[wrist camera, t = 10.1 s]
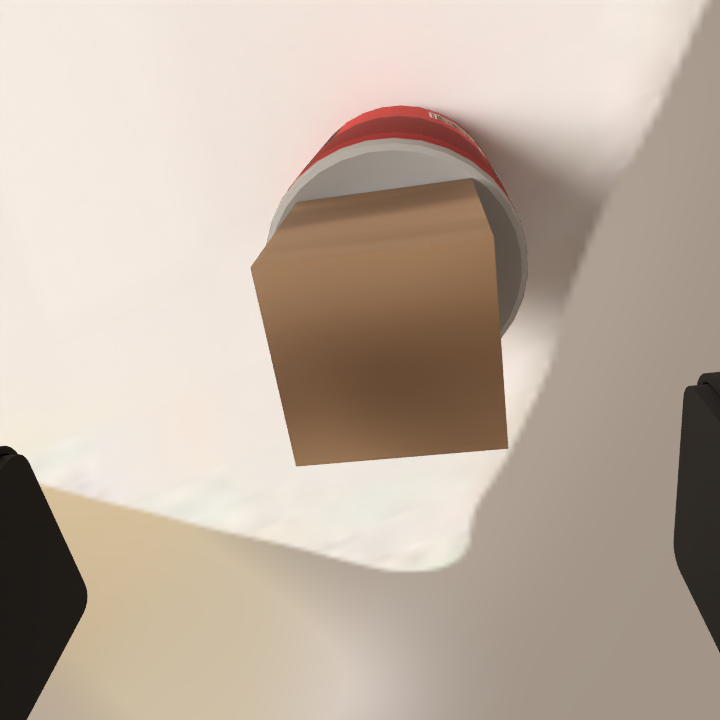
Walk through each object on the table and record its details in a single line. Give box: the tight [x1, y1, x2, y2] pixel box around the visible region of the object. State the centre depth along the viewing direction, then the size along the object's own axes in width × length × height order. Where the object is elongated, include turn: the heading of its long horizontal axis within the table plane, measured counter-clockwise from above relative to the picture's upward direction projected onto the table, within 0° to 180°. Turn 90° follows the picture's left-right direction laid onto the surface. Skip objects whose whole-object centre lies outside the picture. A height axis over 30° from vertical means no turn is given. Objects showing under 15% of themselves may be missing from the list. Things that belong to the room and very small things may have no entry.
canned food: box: [266, 106, 527, 338], centre depth 25 cm, size 8×8×11 cm
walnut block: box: [251, 178, 508, 466], centre depth 17 cm, size 5×5×6 cm
